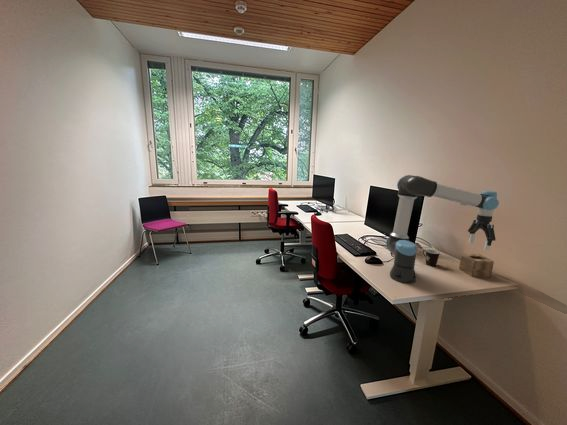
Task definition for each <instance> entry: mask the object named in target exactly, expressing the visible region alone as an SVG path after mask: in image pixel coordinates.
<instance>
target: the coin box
mask: <svg viewBox="0 0 567 425" xmlns="http://www.w3.org/2000/svg"><path fill="white" fill-rule="evenodd" d="M494 263H495V261H494V260H492V259H490V258H487V257H486V256H484V255H482V254H481V253H479V254H477V253H461V254H460V259H459V266H458V269H459V270H461V271H462V272H464V273H465V274H467V275H468V276H470V277H475V278H476V277H477V278H478V277H479V278H491V277H492V272H493V269H494Z"/></svg>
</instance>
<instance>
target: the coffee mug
mask: <svg viewBox="0 0 567 425" xmlns="http://www.w3.org/2000/svg"><path fill="white" fill-rule="evenodd" d="M422 254H423V256H424V257H425V265H427V267H428V266H429V267H436V266H437V264H438V260H439V257H440V251H438V250H435V249H424V250H423V251H422Z"/></svg>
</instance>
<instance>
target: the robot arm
mask: <svg viewBox="0 0 567 425" xmlns="http://www.w3.org/2000/svg"><path fill="white" fill-rule="evenodd" d="M396 187H397V190H398V191H397V196H398V197H399V199H398V205H397V209H396V215H395V220H394V226H393V230H392V232H391V233H389V237H388V238H387V239H386V241H385V244H386V245H385V246H386V248H387V249H388V251H389V252H390V253H391V254H392V255H393V256H394V259H393V260H394V261H393V265H392V267H391V269H390V272H389V277H390V278H391V279H392V280H394V281H397V282H399V283H404V284H413V283H416V281H417V274H416V270H415V265H416V264H415V263H416V257H417V251H418V250H417V249H418V247H417V244H415V243H414V242H412V241H410V240H409V239H410V236H408V231H409V225H410V222H411V216H412V212H413V206H414V202H415V200H416V199H417V198H418V196H421V197H422V196H423V197H427V198H432V197H434V198H439V199H443V200H447V201H451V202H454V203H458V204H459V203H460V205H462V206H471V207H475V208H478V210H477V216H476V219H473V221H472V223H471V225H470V226H469V228H468V229H467V232H468V233H469V238H468V243H469V244H475V243H474V242H475V239H476V238H475V237H476V233H477V232H478V231H479V230H480V229H481V230H482V231H483V232H484V235H485V237H486V240H485V242H484V243H485V244H484V247H483V248H484V249H483V250H484V251H490V250H491V246H492V244H493V242H494V241H497V239H496V235H495V229H494V228H495V225H494V224H490V223H491V222H492V220H493V216H494V210H496V209H497V208H498V206H499V204H500V201H499V199H498V192H497V191H493V190H482V192H481V193H478V192H477V193H476V192H471V191H468V190H464V189H460V188H456V187H453V186H447V185H444V184H439V183H438V182H437V181H434V180H432V179H428V178H426V177H422V176H420V175H412V174H407V175H404V176H401V177H400V178H399V179H398V180H397V183H396Z"/></svg>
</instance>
